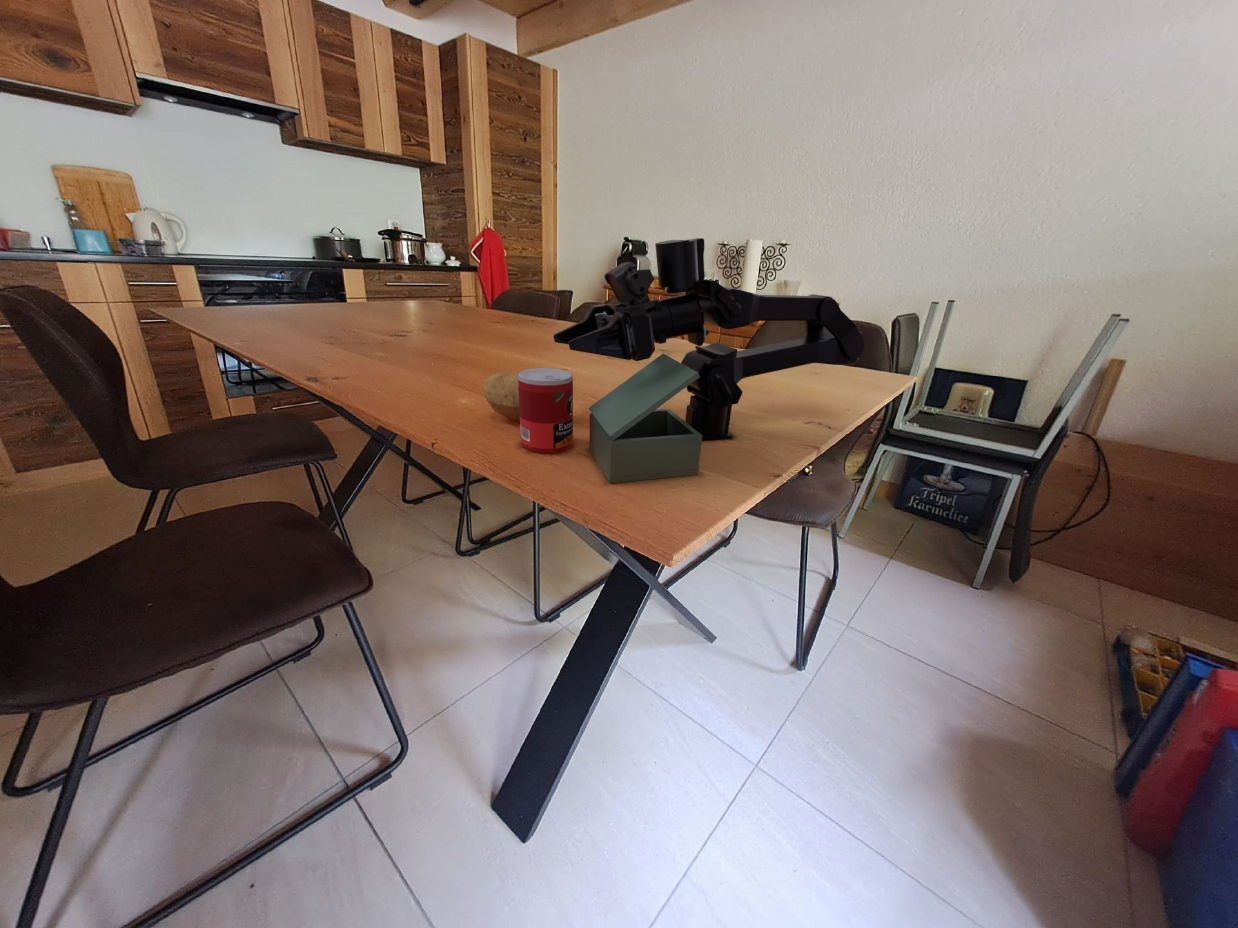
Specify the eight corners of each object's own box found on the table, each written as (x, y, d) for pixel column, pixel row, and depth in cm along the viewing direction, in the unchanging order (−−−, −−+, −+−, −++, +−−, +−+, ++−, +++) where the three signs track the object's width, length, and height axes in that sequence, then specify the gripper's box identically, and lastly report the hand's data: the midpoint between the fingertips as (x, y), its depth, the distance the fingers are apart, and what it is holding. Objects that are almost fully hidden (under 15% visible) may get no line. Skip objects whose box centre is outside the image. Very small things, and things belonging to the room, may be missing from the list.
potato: (555, 433, 77) (554, 386, 73) (475, 424, 79) (471, 377, 76) (573, 415, 85) (573, 372, 82) (500, 407, 88) (498, 365, 85)
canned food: (564, 457, 68) (563, 382, 64) (512, 450, 70) (508, 377, 65) (579, 438, 75) (579, 370, 71) (531, 433, 76) (529, 366, 72)
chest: (666, 443, 75) (669, 408, 72) (697, 474, 65) (702, 435, 62) (589, 449, 71) (589, 413, 69) (609, 483, 61) (611, 442, 59)
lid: (665, 357, 69) (663, 353, 68) (700, 377, 59) (697, 372, 58) (591, 412, 69) (588, 408, 68) (612, 441, 59) (609, 436, 58)
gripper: (632, 263, 74) (535, 281, 70) (687, 257, 57) (565, 279, 54) (642, 335, 78) (551, 355, 74) (695, 348, 62) (583, 375, 58)
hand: (561, 342), depth 65 cm, fingers open, 9 cm apart
